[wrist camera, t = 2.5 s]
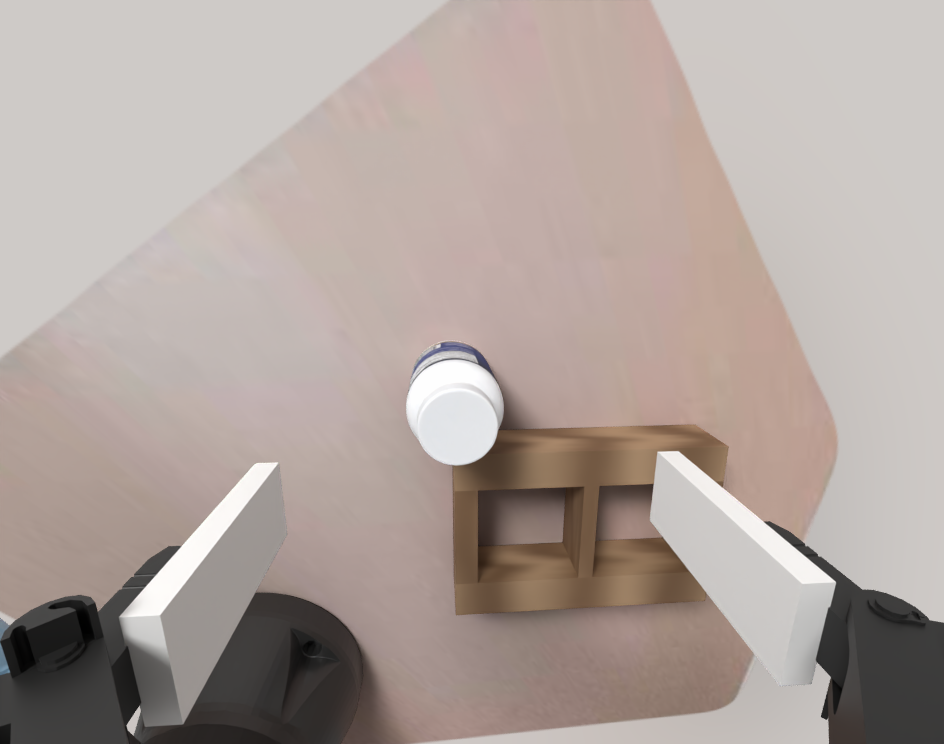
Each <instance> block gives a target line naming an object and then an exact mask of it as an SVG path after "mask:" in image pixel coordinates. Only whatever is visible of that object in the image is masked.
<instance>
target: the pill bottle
mask: <svg viewBox="0 0 944 744" xmlns="http://www.w3.org/2000/svg"><path fill="white" fill-rule="evenodd" d="M503 414H504V403H503V397H502V393H501V390H500V388H499V385H498V383H497V381H496V379H495V377H494V375H493V373H492V371H491V369H490V367H489V365H488V363H487V361H486V359H485V358H484V357H483V355H482V354H481V353H480V352H479V351H478V350H477V349H476V348H474V347H473V346H471V345H469V344H467V343H464V342H461V341H454V340H448V341H442V342H439V343H436V344H434V345H432V346H430V347H429V348H427V349H426V350H425V351H424V352H423V353H422V354H421V355H420V356H419V358H418V359H417V361H416V363H415V365H414V368H413V372H412V376H411V381H410V386H409V391H408V396H407V401H406V415H407V419H408V423H409V426H410V428H411V430H412V432H413V434H414V435H415V436H416V438H417V439H418V440H419V442H420V444H421V446H422V447H423V449H424V450H425V451H426V453H427V454H428V455H430V456H431V457H432V458H433V459H435V460H437V461H439V462H441V463H444V464H447V465H455V466H459V465H466V464H470V463H473V462H475V461H477V460H479V459H480V458H482V457H483V456H484V455H485V454H486V453H488V451H489V450H490V449H491V448H492V446H493V444H494V443H495V440H496V437H497V434H498V429H499V427H500V425H501V422H502V419H503Z"/></svg>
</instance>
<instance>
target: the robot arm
mask: <svg viewBox="0 0 944 744" xmlns="http://www.w3.org/2000/svg"><path fill="white" fill-rule="evenodd" d="M650 521H651V523H652V524H653V525H654V526H655V528H656V529H657V530H658V532H659V533H660V534H661V535H662V537H663V538H664V539H665V540H666V542H667V543H668V544H669V546H670V547H671V548H672V549H673V551H674V552H675V553H676V554H677V556H678V557H679V558H680V560H681V561H682V562H683V563H684V565H685V566H686V567H687V569H688V570H689V571H690V572H691V574H692V575H693V576H694V577H695V579H696V580H697V581H698V583H699V584H700V585H701V586H702V588H703V589H704V590H705V591H706V593H707V594H708V595H709V597H710V598H711V599H712V600H713V602H714V603H715V604H716V606H717V607H718V608H719V609H720V611H721V612H722V613H723V614H724V616H725V617H726V618H727V620H728V621H729V622H730V623H731V625H732V626H733V627H734V628H735V630H736V631H737V632H738V634H739V635H740V636H741V637H742V639H743V640H744V641H745V643H746V644H747V645H748V646H749V648H750V649H751V650H752V651H753V653H754V654H755V655H756V657H757V658H758V659H759V660H760V661H761V663H762V664H763V665H764V667H765V668H766V669H767V671H768V672H769V673H770V674H771V676H772V677H773V678H774V680H775V681H776V682H777V683H778V685H779V686H790V685H805V684H812V680H813V676H814V672H815V668H816V664H817V662H818V664H820V666H821V667H822V668H823V669H824V670H825V671H826V672H827V673H828V674H829V675H830V676H831V679H830V683H829V687H828V691H827V695H826V699H825V703H824V707H823V711H822V715H821V717H822V718H824V719H826V720H827V719H828V721H829V744H944V623H941V622H936V621H930V620H929V619H928V617H927V616H925V615H924V614H923V613H922V612H921V611H919V610H918V609H917V608H916V607H914V606H912V605H910V604H909V603H907V602H905V601H904V600H902V599H899V598H897V597H894V596H892V595H889V594H887V593H883V592H879V591H875V590H862V589H861V588H860V587H858V586H857V585H856V584H854V583H853V582H852V581H851V580H850V579H848V578H847V577H846V576H845V575H843V574H842V573H841V572H840V571H838V570H837V569H836V568H834V567H833V566H832V565H831V564H829V563H828V562H827V561H826V560H824V559H823V558H822V557H818V554H817V553H816V552H814V551H813V550H812V549H810V548H809V547H808V546H807V547H806V546H805V544H804V543H803V542H802V541H801V540H799V539H798V538H797V537H796V536H794V535H793V534H792V533H791V532H789V531H787V530H785V529H783V528H781V527H779V526H777V525H775V524H774V523H772V522H770V521H769V522H763V521H762V520H761V519H759V518H758V517H757V516H756V515H755V514H753V513H752V512H751V511H750V510H749V509H747V508H746V507H745V506H744V505H743V504H741V503H740V502H739V501H738V500H737V499H735V498H734V497H733V496H732V495H731V494H729V493H728V492H727V491H726V490H725V489H723V488H722V487H721V486H720V485H719V484H717V483H716V482H715V481H714V480H713V479H711V478H710V477H709V476H708V475H706V474H705V473H704V472H703V471H702V470H700V469H699V468H698V467H697V466H696V465H694V464H693V463H692V462H691V461H690V460H688V459H687V458H686V457H685V456H684V455H682V454H681V453H680V452H679V451H666V452H657V461H656V469H655V478H654V487H653V496H652V504H651V513H650ZM286 536H287V526H286V518H285V510H284V501H283V493H282V484H281V476H280V467H279V462H278V463H255V464H254V465H253V467H252V468H251V469H250V470H249V471H248V472H247V473H246V474H245V476H244V477H243V478H242V479H241V480H240V481H239V482H238V483H237V485H236V486H235V487H234V488H233V489H232V490H231V491H230V492H229V494H228V495H227V496H226V497H225V498H224V499H223V500H222V502H221V503H220V504H219V505H218V506H217V507H216V508H215V509H214V511H213V512H212V513H211V514H210V515H209V516H208V517H207V518H206V520H205V521H204V522H203V523H202V524H201V525H200V526H199V527H198V529H197V530H196V531H195V532H194V533H193V534H192V535H191V536H190V538H189V539H188V540H187V541H186V542H185V543H184V544H183V545H182V546H169V547H167V548H166V549H164V550H162V551H161V552H159V553H158V554H156V555H155V556H153V557H152V558H150V559H148V560H147V562H146V563H145V564H144V565H143V566H142V567H141V568H140V569H139V570H138V571H137V572H136V573H135V574H134V577H131V578H130V579H129V580H128V581H127V582H126V583H125V584H124V586H123V588H122V590H119V591H118V592H117V593H116V594H115V595H114V596H113V597H112V598H111V599H110V600H109V601H108V602H107V603H106V604H105V605H104V606H103V607H102V608H101V610H100V611H99V612H97V608H96V604H95V602H94V601H93V599H92V598H91V597H87V596H82V595H77V596H68V597H63V598H60V599H57V600H54V601H50V602H48V603H45V604H43V605H41V606H39V607H37V608H35V609H33V610H31V611H29V612H28V613H26V614H25V615H23V616H22V617H20V618H18V619H17V620H15V621H14V622H13V623H12V624H11V625H10V626H9V625H8V624H7V623H6V622H4V621H3V620H2V619H1V618H0V744H341V742H342V740H343V738H344V737H345V735H346V733H347V731H348V729H349V727H350V725H351V723H352V721H353V718H354V715H355V712H356V709H357V705H358V700H359V695H360V689H361V683H362V676H363V666H362V660H361V655H360V652H359V649H358V647H357V644H356V643H355V641H354V639H353V637H352V636H351V634H350V633H349V632H348V630H347V629H346V628H345V627H344V626H343V624H342V623H340V622H339V621H338V620H337V619H336V618H335V617H334V616H332V615H331V614H330V613H328V612H327V611H325V610H324V609H322V608H320V607H318V606H316V605H315V604H312V603H310V602H308V601H305V600H302V599H299V598H296V597H292V596H288V595H283V594H276V593H255V592H256V591H257V589H258V587H259V585H260V583H261V581H262V580H263V578H264V576H265V574H266V572H267V570H268V569H269V567H270V565H271V563H272V561H273V560H274V558H275V556H276V554H277V552H278V550H279V549H280V547H281V545H282V543H283V541H284V540H285V538H286ZM139 705H140V708H141V713H140V716H139V720H138V723H137V727H136V730H135V733H134V736H133V735H132V734H131V733H130V732H129V731H128V730H127V726H126V725H127V723H128V722H129V720H130V719H131V717H132V716H133V714H134V713H135V711H136V710H137V708H138V707H139Z"/></svg>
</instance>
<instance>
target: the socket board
mask: <svg viewBox="0 0 944 744" xmlns="http://www.w3.org/2000/svg"><path fill="white" fill-rule="evenodd" d="M728 448H729V447H728V446H727V445H725V444H724V443H722V442H721V441H719V440H718V439H716V438H715V437H713V436H712V435H710V434H708V433H707V432H705V431H704V430H702V429H701V428H699V427H698V426H696V425H664V426H629V427H593V428H558V429H522V430H498V434H497V437H496V440H495V443H494V444H493V446H492V448H491V449H490V450H489V451H488V453H486V454H485V455H484V456H483V457H482V458H480V459H479V460H477V461H475V462H473V463H470V464H466V465H459V466H455V465H453V545H454V588H455V607H456V615H467V614H484V613H501V612H519V611H536V610H553V609H570V608H588V607H605V606H622V605H639V604H657V603H674V602H691V601H705V598H706V591H705V590H704V589H703V588H702V586H701V585H700V584H699V583H698V581H697V580H696V579H695V577H694V576H693V575H692V574H691V572H690V571H689V570H688V569H687V567H686V566H685V565H684V563H683V562H682V561H681V560H680V558H679V557H678V556H677V554H676V553H675V552H674V551H673V549H672V548H671V547H670V546H669V544H668V543H667V542H666V540H665V539H664V538H663V537H662V538H648V539H627V540H605V541H595V537H596V524H597V511H598V498H599V486H611V485H638V484H654V478H655V469H656V461H657V452H666V451H679V452H680V453H681V454H682V455H684V456H685V457H686V458H687V459H688V460H690V461H691V462H692V463H693V464H694V465H696V466H697V467H698V468H699V469H700V470H702V471H703V472H704V473H705V474H706V475H708V476H709V477H710V478H711V479H713V480H714V481H715V482H716V483H717V484H719V485H720V486H721V487H723V480H724V474H725V467H726V461H727V454H728ZM559 487H566V493H565V511H564V528H563V543H541V544H520V545H499V546H478V491H479V490H506V489H532V488H559Z"/></svg>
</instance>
